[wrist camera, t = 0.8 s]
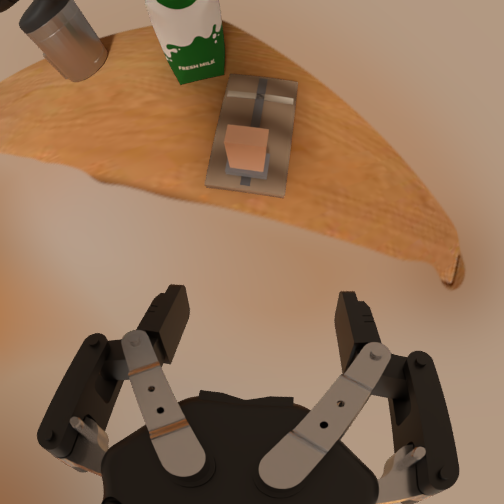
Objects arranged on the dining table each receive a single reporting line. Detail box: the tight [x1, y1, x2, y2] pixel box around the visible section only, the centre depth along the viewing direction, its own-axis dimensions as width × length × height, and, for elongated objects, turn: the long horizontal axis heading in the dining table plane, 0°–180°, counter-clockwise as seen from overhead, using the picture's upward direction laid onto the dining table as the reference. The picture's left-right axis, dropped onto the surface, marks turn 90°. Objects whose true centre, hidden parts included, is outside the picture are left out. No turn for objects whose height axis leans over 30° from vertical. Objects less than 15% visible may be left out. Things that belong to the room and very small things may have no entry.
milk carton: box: [145, 0, 225, 85], centre depth 26 cm, size 9×9×20 cm
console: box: [205, 74, 298, 198], centre depth 34 cm, size 18×10×2 cm, turn 171°
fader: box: [224, 124, 270, 180], centre depth 29 cm, size 3×5×8 cm, turn 81°
